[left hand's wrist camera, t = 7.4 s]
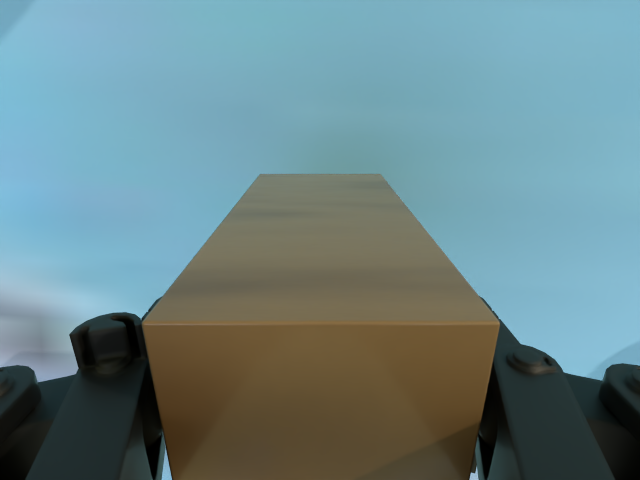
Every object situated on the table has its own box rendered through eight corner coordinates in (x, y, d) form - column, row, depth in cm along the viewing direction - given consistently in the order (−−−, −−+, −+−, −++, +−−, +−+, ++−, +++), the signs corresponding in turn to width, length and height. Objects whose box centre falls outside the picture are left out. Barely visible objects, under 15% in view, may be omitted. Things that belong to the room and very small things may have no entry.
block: (374, 290, 18) (453, 568, 8) (266, 290, 18) (188, 568, 8) (381, 173, 16) (502, 322, 6) (259, 173, 16) (139, 322, 6)
